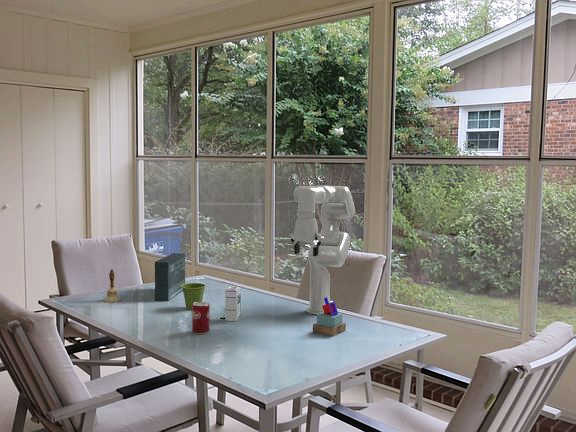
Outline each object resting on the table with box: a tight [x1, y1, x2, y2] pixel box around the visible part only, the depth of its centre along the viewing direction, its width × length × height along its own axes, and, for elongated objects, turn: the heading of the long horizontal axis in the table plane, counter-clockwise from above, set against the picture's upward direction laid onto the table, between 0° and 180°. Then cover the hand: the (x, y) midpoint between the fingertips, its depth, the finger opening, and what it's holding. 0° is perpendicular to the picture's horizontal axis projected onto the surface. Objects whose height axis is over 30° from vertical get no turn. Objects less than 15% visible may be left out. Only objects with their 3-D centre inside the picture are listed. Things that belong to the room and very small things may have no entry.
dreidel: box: [322, 297, 339, 316], centre depth 247 cm, size 4×4×8 cm
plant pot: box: [181, 282, 207, 311], centre depth 283 cm, size 12×12×11 cm
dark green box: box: [154, 252, 186, 302], centre depth 311 cm, size 29×7×20 cm, turn 173°
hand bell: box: [103, 269, 122, 303], centre depth 297 cm, size 8×8×16 cm
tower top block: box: [316, 312, 343, 327], centre depth 247 cm, size 8×8×4 cm
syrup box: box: [224, 286, 242, 322], centre depth 264 cm, size 6×6×14 cm
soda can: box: [191, 301, 211, 335], centre depth 244 cm, size 7×7×12 cm
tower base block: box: [312, 321, 347, 337], centre depth 247 cm, size 10×10×4 cm
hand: (306, 254), depth 258 cm, fingers open, 9 cm apart
